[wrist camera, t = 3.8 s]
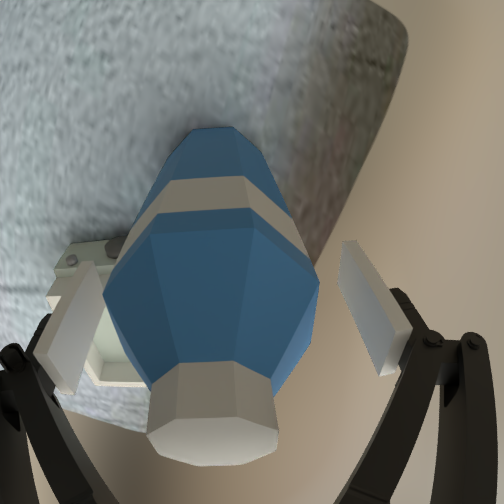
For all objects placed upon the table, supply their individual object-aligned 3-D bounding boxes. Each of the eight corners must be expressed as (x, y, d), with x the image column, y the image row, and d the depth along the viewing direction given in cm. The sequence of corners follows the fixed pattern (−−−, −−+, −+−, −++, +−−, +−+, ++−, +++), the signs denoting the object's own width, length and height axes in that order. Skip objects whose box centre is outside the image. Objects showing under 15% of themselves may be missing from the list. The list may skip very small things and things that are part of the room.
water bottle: (280, 144, 29) (428, 373, 8) (243, 228, 33) (283, 487, 12) (183, 110, 26) (48, 298, 5) (155, 202, 30) (73, 459, 9)
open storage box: (68, 237, 31) (38, 281, 25) (190, 224, 32) (183, 270, 25) (110, 343, 40) (98, 390, 34) (209, 340, 41) (209, 390, 34)
